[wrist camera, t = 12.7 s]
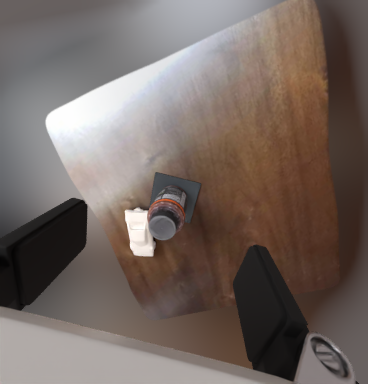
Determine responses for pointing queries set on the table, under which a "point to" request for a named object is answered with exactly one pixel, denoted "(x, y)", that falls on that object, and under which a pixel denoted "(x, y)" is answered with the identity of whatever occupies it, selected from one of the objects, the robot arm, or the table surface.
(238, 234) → the table surface
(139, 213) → the toy car
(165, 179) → the mat
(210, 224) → the table surface
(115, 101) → the table surface
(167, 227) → the supplement bottle
